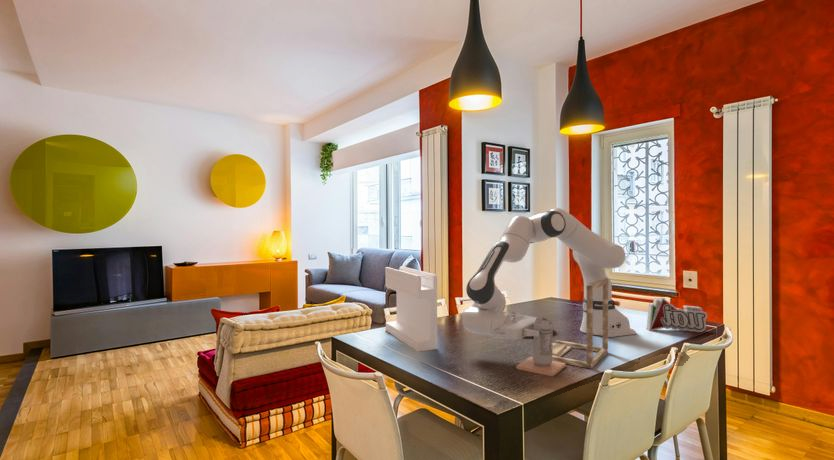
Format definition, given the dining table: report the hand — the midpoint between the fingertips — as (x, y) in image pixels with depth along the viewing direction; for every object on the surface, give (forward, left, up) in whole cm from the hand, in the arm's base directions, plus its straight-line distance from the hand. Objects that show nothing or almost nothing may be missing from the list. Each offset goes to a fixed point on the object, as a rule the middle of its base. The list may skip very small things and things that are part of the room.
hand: (544, 331), depth 142 cm
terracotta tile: (+1, -1, -12) cm, 12 cm away
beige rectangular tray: (-12, -16, -12) cm, 23 cm away
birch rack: (-16, -11, -12) cm, 23 cm away
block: (+38, -43, -12) cm, 59 cm away
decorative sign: (-79, -36, -13) cm, 88 cm away
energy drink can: (0, -1, -11) cm, 11 cm away
